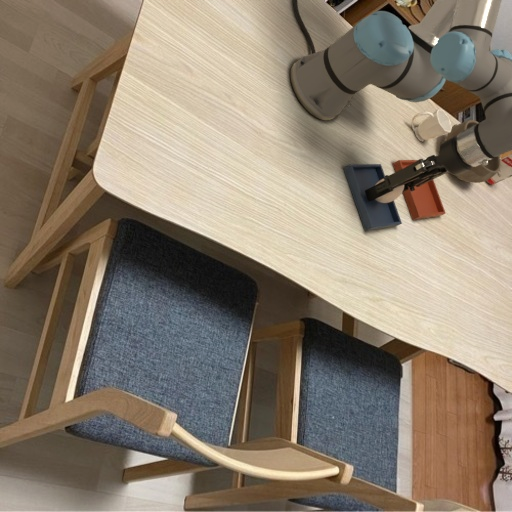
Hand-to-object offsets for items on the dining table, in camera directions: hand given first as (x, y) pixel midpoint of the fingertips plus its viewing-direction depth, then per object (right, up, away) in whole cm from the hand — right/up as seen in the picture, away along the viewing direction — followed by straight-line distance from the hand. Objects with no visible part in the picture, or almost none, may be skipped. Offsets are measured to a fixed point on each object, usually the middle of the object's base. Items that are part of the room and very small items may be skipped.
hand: (375, 195), depth 131 cm
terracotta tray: (+14, +3, +16) cm, 21 cm away
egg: (0, 0, 0) cm, 1 cm away
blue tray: (-1, 0, +1) cm, 2 cm away
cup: (+16, +20, +26) cm, 37 cm away
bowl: (+30, +14, +35) cm, 48 cm away
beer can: (+44, +11, +47) cm, 65 cm away
